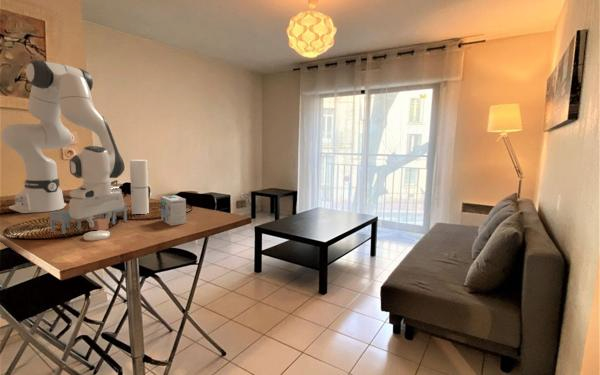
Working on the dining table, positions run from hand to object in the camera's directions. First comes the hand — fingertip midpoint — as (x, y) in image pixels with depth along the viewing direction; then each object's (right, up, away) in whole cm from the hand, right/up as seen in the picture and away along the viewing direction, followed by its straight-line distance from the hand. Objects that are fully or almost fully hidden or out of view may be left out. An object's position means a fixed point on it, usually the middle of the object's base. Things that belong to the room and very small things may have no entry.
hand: (99, 225), depth 120 cm
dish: (+4, -3, -8) cm, 10 cm away
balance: (-7, +1, +15) cm, 16 cm away
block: (0, -2, 0) cm, 2 cm away
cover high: (-1, 0, +11) cm, 11 cm away
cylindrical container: (+2, +2, +27) cm, 27 cm away
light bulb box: (+22, -1, +15) cm, 27 cm away
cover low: (-10, -2, -4) cm, 11 cm away
